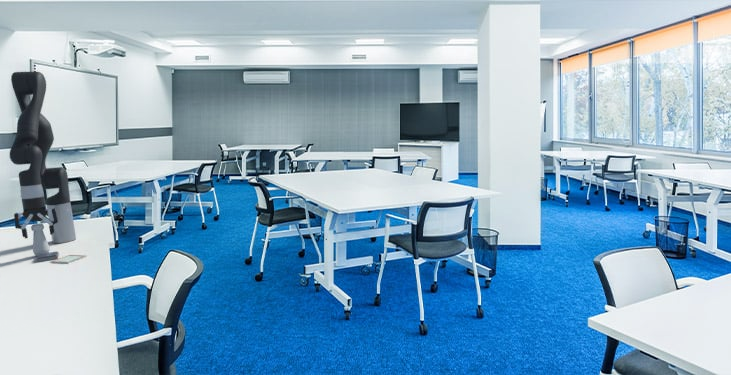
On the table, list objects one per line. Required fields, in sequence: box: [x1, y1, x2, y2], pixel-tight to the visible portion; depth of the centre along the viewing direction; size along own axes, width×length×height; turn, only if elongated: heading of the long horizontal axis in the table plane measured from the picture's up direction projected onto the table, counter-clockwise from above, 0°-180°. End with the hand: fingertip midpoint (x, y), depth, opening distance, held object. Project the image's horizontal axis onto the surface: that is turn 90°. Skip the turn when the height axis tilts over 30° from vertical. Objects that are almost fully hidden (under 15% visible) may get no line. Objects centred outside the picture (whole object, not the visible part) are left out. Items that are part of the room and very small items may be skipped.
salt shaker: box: [30, 223, 51, 258], centre depth 198 cm, size 6×6×13 cm
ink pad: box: [35, 251, 60, 263], centre depth 194 cm, size 7×7×2 cm
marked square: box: [50, 254, 87, 264], centre depth 191 cm, size 8×8×1 cm
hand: (39, 236), depth 198 cm, fingers open, 8 cm apart
